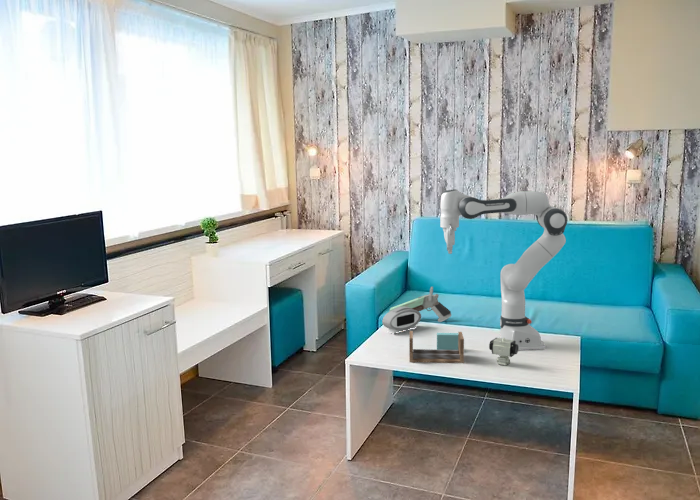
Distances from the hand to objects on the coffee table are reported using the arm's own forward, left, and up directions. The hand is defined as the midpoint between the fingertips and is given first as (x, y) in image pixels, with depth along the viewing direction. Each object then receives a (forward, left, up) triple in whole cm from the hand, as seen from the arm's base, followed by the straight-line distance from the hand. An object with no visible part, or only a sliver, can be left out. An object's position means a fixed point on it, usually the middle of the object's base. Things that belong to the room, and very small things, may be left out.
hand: (449, 252), depth 287 cm
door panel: (+1, +9, -46) cm, 47 cm away
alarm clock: (+23, -24, -46) cm, 57 cm away
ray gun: (+13, -46, -46) cm, 66 cm away
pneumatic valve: (-22, +29, -46) cm, 59 cm away
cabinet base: (+7, +22, -46) cm, 51 cm away
